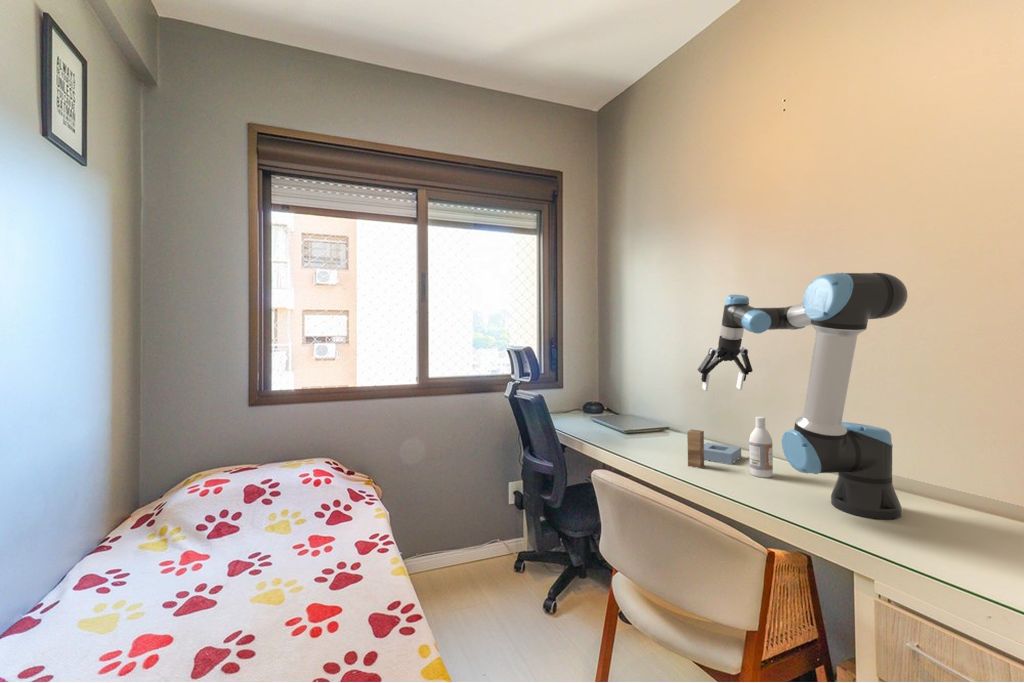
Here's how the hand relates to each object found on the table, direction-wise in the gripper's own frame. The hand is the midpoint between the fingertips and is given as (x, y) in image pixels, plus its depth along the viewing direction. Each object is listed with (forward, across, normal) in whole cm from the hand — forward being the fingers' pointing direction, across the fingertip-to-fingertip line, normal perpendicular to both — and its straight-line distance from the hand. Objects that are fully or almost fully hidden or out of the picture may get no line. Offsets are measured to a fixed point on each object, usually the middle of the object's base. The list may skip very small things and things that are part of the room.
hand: (721, 389), depth 169 cm
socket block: (+28, -1, +5) cm, 28 cm away
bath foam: (+21, -4, +26) cm, 33 cm away
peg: (+25, +13, +13) cm, 31 cm away
